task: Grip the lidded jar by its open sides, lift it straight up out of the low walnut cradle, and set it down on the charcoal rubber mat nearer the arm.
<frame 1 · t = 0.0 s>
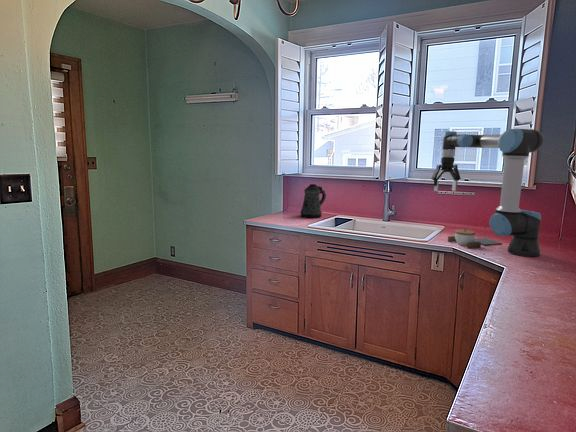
hand: (444, 191, 249), 28 cm above the worktop, tool pointing down, fingers open, 13 cm apart
lidded jar: (463, 244, 229), on the worktop
pot cradle: (463, 244, 229), on the worktop
dark grey tall jug: (312, 216, 310), on the worktop
rubber mat: (484, 242, 235), on the worktop
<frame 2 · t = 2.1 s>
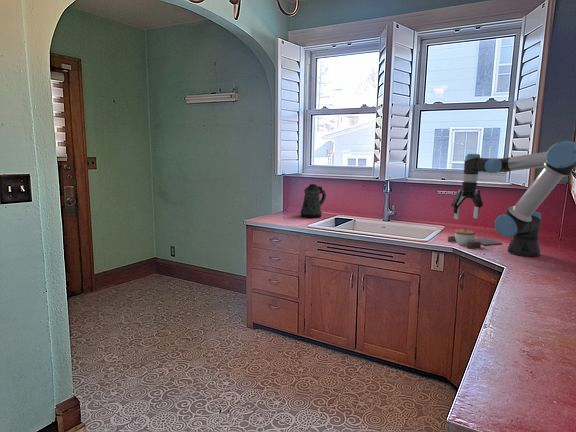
hand: (465, 218, 227), 15 cm above the worktop, tool pointing down, fingers open, 13 cm apart
nothing on the worktop moved.
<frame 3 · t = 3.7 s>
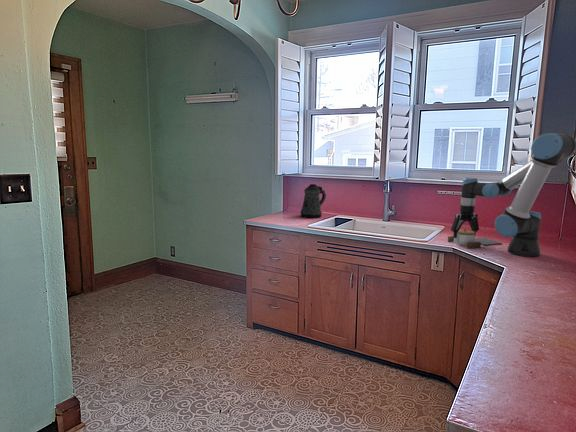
hand: (463, 242, 229), 1 cm above the worktop, tool pointing down, fingers closed on lidded jar, 11 cm apart
lidded jar: (463, 244, 229), on the worktop, touching gripper
everything else where it was.
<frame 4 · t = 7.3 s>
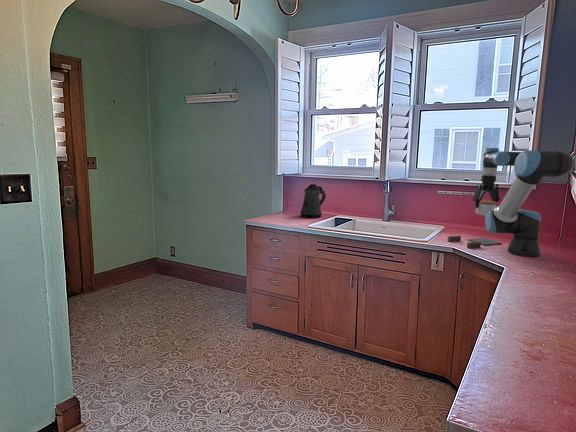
hand: (485, 213, 231), 18 cm above the worktop, tool pointing down, fingers closed on lidded jar, 11 cm apart
lidded jar: (484, 215, 231), point 17 cm above the worktop, touching gripper
everything else where it was.
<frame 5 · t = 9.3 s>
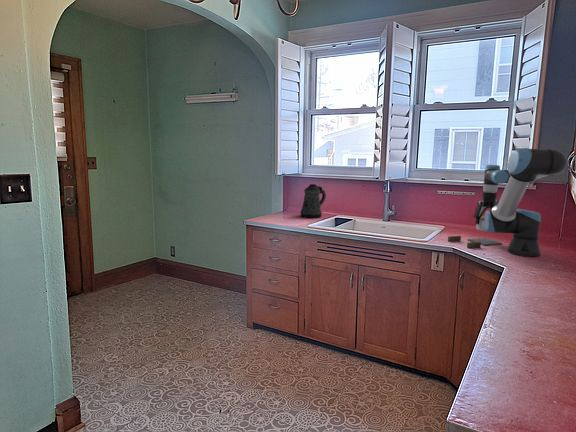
hand: (485, 228, 234), 8 cm above the worktop, tool pointing down, fingers closed on lidded jar, 11 cm apart
lidded jar: (485, 230, 234), point 7 cm above the worktop, touching gripper
everything else where it was.
when the fingers open (3 cm above the worktop, at t = 10.9 s): lidded jar drops 1 cm, resting on rubber mat.
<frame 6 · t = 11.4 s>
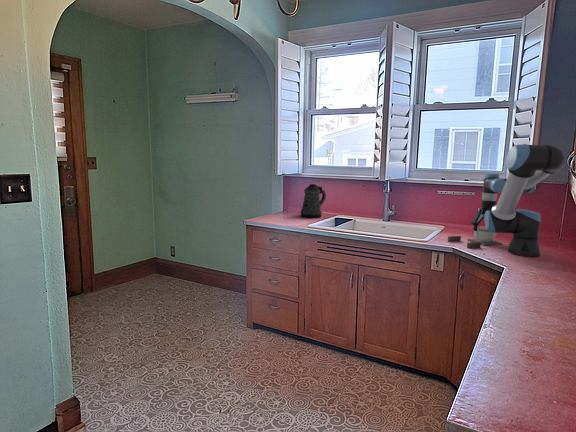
hand: (485, 235, 235), 4 cm above the worktop, tool pointing down, fingers open, 13 cm apart
lidded jar: (484, 241, 235), point 1 cm above the worktop, touching rubber mat
everything else where it was.
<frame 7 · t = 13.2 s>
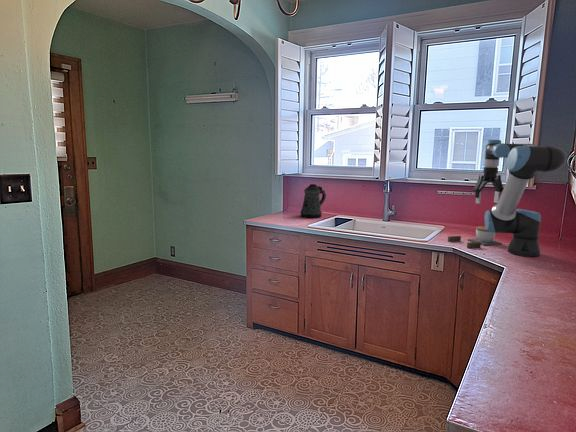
hand: (486, 203, 234), 23 cm above the worktop, tool pointing down, fingers open, 13 cm apart
nothing on the worktop moved.
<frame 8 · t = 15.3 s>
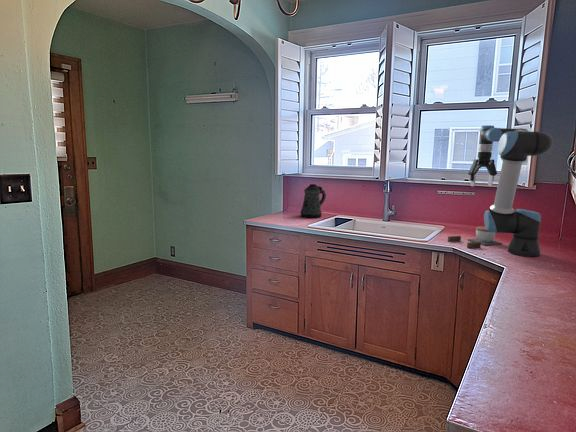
hand: (481, 186, 246), 32 cm above the worktop, tool pointing down, fingers open, 13 cm apart
nothing on the worktop moved.
at the end: lidded jar inside the target area on the rubber mat (0.2 cm from its centre), point 0.6 cm above the rubber mat's base; lidded jar tilted 0°; the gripper is holding nothing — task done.
